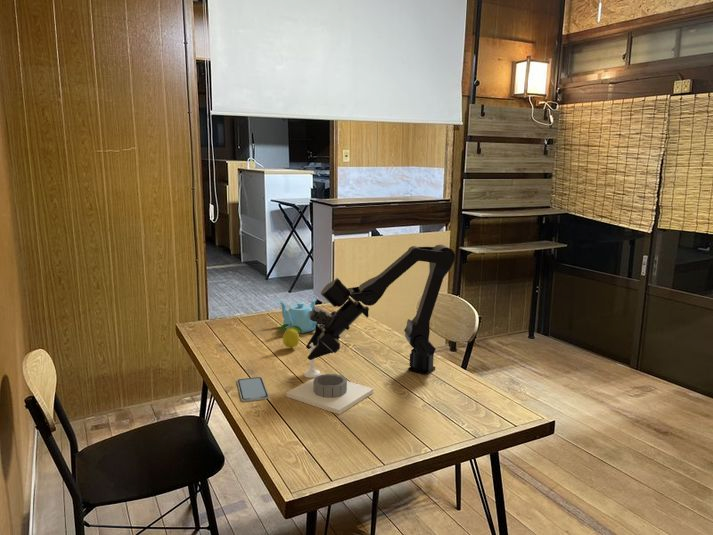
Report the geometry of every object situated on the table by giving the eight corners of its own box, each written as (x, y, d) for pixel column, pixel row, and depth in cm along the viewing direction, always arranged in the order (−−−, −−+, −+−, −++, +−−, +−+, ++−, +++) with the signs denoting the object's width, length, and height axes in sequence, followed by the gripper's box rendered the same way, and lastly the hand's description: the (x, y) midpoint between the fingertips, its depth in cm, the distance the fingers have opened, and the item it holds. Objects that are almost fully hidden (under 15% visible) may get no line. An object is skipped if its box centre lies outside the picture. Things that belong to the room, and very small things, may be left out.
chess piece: (311, 370, 164) (311, 339, 162) (323, 374, 161) (323, 342, 159) (300, 374, 160) (300, 343, 158) (312, 379, 157) (312, 347, 155)
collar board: (373, 392, 148) (373, 378, 148) (339, 414, 136) (339, 399, 135) (322, 377, 158) (322, 364, 158) (286, 396, 146) (286, 382, 145)
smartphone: (261, 376, 158) (269, 397, 144) (261, 379, 158) (269, 400, 144) (236, 379, 156) (241, 400, 142) (236, 381, 156) (241, 403, 142)
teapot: (322, 334, 199) (322, 307, 197) (281, 336, 196) (281, 309, 194) (316, 322, 213) (316, 297, 211) (278, 324, 210) (278, 299, 208)
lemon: (278, 351, 180) (277, 322, 178) (284, 345, 186) (284, 317, 184) (297, 352, 179) (296, 324, 177) (303, 347, 184) (302, 319, 182)
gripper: (323, 291, 166) (287, 326, 166) (328, 307, 148) (288, 346, 148) (348, 314, 168) (313, 349, 169) (356, 333, 150) (317, 372, 151)
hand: (307, 353), depth 159 cm, fingers open, 9 cm apart
